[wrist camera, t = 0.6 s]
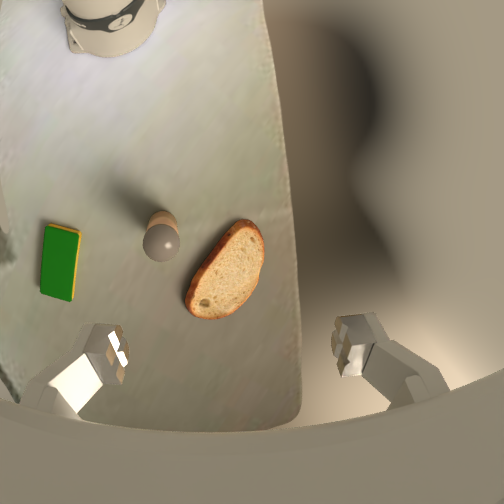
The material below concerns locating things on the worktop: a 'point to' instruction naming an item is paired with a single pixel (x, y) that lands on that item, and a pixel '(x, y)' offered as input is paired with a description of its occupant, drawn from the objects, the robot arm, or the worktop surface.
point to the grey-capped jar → (161, 237)
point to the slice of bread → (227, 273)
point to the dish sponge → (59, 261)
